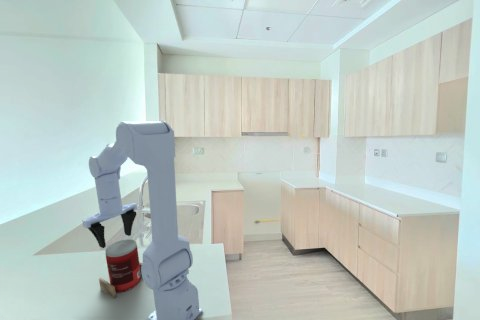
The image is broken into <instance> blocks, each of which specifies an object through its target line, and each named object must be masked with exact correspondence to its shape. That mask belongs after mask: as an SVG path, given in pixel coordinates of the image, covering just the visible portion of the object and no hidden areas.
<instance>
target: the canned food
mask: <svg viewBox="0 0 480 320" xmlns="http://www.w3.org/2000/svg"><path fill="white" fill-rule="evenodd" d="M105 260H106V264H107V267H106V268H107V273H108V276H109V277H108V278H109V283H110V284H111V285H113V286H114V287H115V292H117V293H123V292H124V293H125V292H127V291H130V290H132V289H134V288H135V287H136V286H137V285H138V284H139V283H140V281H141V278H142V274H141V273H140V265H139V262H140V257H139V251H138V244H137V241H135V240H133V239H123V240H122V239H121V240H119V241H115V242H113V243H111V244H110V245H108V246H107V248H105Z"/></svg>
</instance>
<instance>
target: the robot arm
mask: <svg viewBox="0 0 480 320" xmlns="http://www.w3.org/2000/svg"><path fill="white" fill-rule="evenodd" d="M175 142H176V141H175V131H174V130H173V128H172V127H171V125H169V123H168V122H167V121H165V120H158V121H120V122H119V123H118V126H117V127H116V129H115V141H114V143H107V144H106V146H105V148H104V149H102V151H101V152H100V153H99V154H98V156H94V155H93V156H90V157H89V159H88V169H89V173H90V174H91V176H92V177H93V178H94V183H95V188H96V195H97V202H98V210H99V212H98V213H95V214H94V215H91V216H90V217H87V218H85V219H83V220H82V225H83V226H82V227H83V228H85V229H88V230H89V232H91V233H92V235H93V237H94V238H95V239H96V241H97V244H98V246H99V248H101V249H106V238H105V226H104V225H102V222H104V221H108V220H110V219H113V218H116V217H118V216H120V218H121V220H122V225H123V230H124V234H125V236H129V237H130V236H132V230H133V224H134V221H135V219H136V217H137V210H138V207H137V203H134V202H131V203H128V204H123V203H122V195H121V190H120V189H121V187H120V179H121V168H122V167H121V166H122V165H123V164H124V163H126V161H127V160H128V159H130V160H131V161H132V162H133V163H134V164H135V165H139V166H143V167H144V168H145V170H146V174H147V185H148V199H149V211H150V214H149V215H150V224H151V234H152V235H151V237H152V239H151V241H150V243H149V244H148V246H147V247H146V248H145V250H143V253H142V262H141V263H142V266H141V278H142V280H143V281H144V284H145V285H146V287H147V288H149V289H150V290H153V298H154V305H155V310H154V311H152V312H151V313H150V315H148V316H147V318H148V320H196V318H197V317H199V315H201V313H202V312H203V309H202V307H200V303H199V299H200V298H199V290H198V288H197V287H196V285H195V284H193V283H192V282H190V280H189V279H188V277H187V276H188V275H189V269H190V268H191V267H192V266H193V262H194V261H193V260H194V257H193V254H192V251H191V247H190V241H189V240H188V239H187V238H186V237H184V236H183V235H180V234H179V232H178V231H179V229H178V228H179V227H178V226H179V225H178V209H177V205H178V204H177V192H176V191H177V190H176V188H177V187H176V171H175V158H176V147H175V146H176V143H175Z"/></svg>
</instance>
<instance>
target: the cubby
mask: <svg viewBox="0 0 480 320" xmlns="http://www.w3.org/2000/svg"><path fill="white" fill-rule="evenodd" d="M142 263H143V262H140V261H139V265H140V273H141V266H142ZM98 282H99V287H100V290H101V291H103V292H104V293H106V294H108V295H109V296H110V297H111V298H113V299H116V298H117V293H116V291H115V287H114V286H113V285H111V284H110V282H108V281H106V280H105V279H103V278H102V277H100V278H99V279H98Z"/></svg>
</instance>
